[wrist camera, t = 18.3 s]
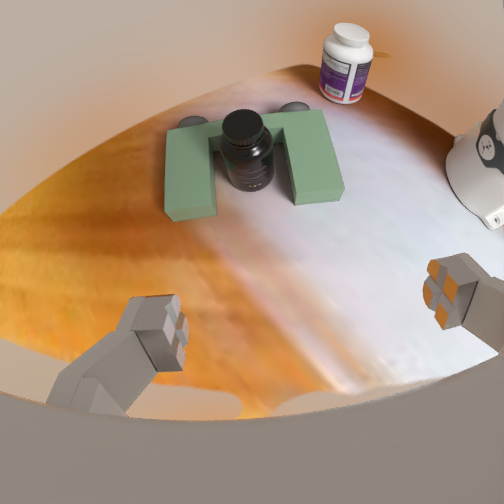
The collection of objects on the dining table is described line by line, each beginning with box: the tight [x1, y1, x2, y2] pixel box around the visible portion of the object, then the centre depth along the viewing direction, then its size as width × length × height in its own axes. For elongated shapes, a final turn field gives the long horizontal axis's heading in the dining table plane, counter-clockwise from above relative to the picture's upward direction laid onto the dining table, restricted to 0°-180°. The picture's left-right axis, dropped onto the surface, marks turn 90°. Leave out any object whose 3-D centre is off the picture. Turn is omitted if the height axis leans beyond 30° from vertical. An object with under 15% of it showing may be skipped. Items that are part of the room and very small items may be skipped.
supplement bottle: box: [219, 109, 274, 192], centre depth 37 cm, size 7×7×12 cm
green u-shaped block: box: [164, 102, 345, 222], centre depth 41 cm, size 24×15×5 cm, turn 96°
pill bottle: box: [319, 23, 373, 104], centre depth 39 cm, size 8×8×14 cm
